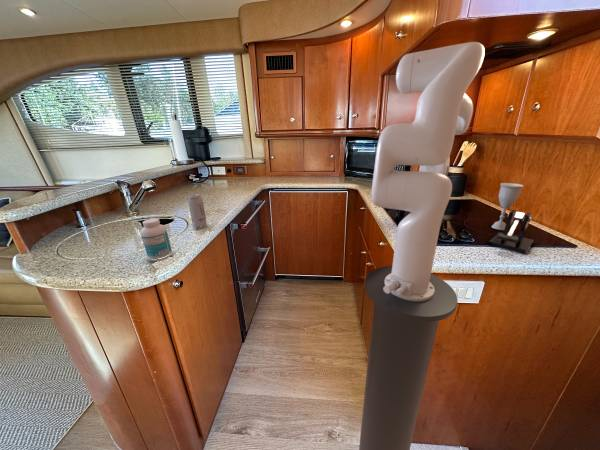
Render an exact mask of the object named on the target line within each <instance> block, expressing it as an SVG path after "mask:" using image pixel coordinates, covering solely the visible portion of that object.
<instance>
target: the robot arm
mask: <svg viewBox="0 0 600 450" xmlns="http://www.w3.org/2000/svg"><path fill="white" fill-rule="evenodd" d="M485 50H486V49H485V46H484V45H483V44H482V43H480V41H479V42H478V41H470V42H463V43H457V44H452V45H447V46H441V47H437V48H431V49H426V50H420V51H415V52H411V53H406V54H404V55H403V56H402V57H401V59H400V60H399V63H398V65H397V67H396V72H395V84H396V87H397V90H398V91H399V92H400V93H401V94H413V93H414V94H415V93H420V96H419V97H418V99H417V103H416V110H415V116H414V120H413V122H406V123H405V122H404V123H391V124H389V125H387V126H385V127H384V128H383V129H382V131H381V133H380V135H379V138H378V140H377V145H376V152H375V159H374V160H375V161H374V168H373V175H372V184H371V193H370V194H371V195H370V196H371V202H372V204H373V205H374V206H376V207H378V208H382V209H391V210H397V211H398V210H399V211H405V212H409V213H408V215H405V217H403V218H402V219H401V220H400V221H399V223H398V224H397V227H396V233H395V242H394V248H393V258H392V265H391V266H392V273H391V274H389V275H387V276H386V278H385V282H384V284H385V286H384V287H383V290H384V292H385V293H387V294H388V293H390V292H391V293H392V294H393V295H395V296H397V297H399V298H402V299H404V300H408V301H416V302H420V301H426V300H429V299H431V298H432V297H433V295H434V291H435V289H434V286H433V285H432V284H431V283H430V282H429V281H430V276H431V274H432V271H433V267H434V266H433V265H434V260H435V255H436V250H437V245H438V240H439V235H440V231H441V227H442V223H441V222H442V218H443V219H444V215H445V213H446V209H447V207H448V204H449V202H450V199H451V195H452V192H453V183H452V180H451V179H450V177H448V174H449V171H450V164H451V163H450V162H451V161H450V159H451V158H450V157H451V156H450V155H451V153H452V150H453V146H454V142H455V136H457V135H458V136H459V135H462V134H464V133H466V132H467V130H468V129H469V126H470V124H471V120H472V117H473V113H474V105H473V104H474V103H473V100H472V99H471V98H470V97H469V96H468V94H466V92H467V90H468V88H469V86H470V85H471V84H472V82H473V81H474V79H475V78H476V76H477V74H478V73H479V71H480V69H481V68H482V65H483V62H484V58H485V53H486V52H485ZM397 166H419V169H418V171H417V170H410V171H409V170H407V171H406V170H395V168H396V167H397Z"/></svg>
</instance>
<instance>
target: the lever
mask: <svg viewBox="0 0 600 450" xmlns="http://www.w3.org/2000/svg"><path fill="white" fill-rule="evenodd" d="M525 215H526V212H521V211H516V214H515V216H514V220H513V223H512V227H511V229H510V231H509V233H508V234H507V235H504V234H499V235H498V239H501V240H506V241H510V242H514V243H518V241H519V238H517V237H513V236H512V235H514V233H515V231H516V230H517V227H518V226H519V224H522V223H523V220H524V217H525Z"/></svg>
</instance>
